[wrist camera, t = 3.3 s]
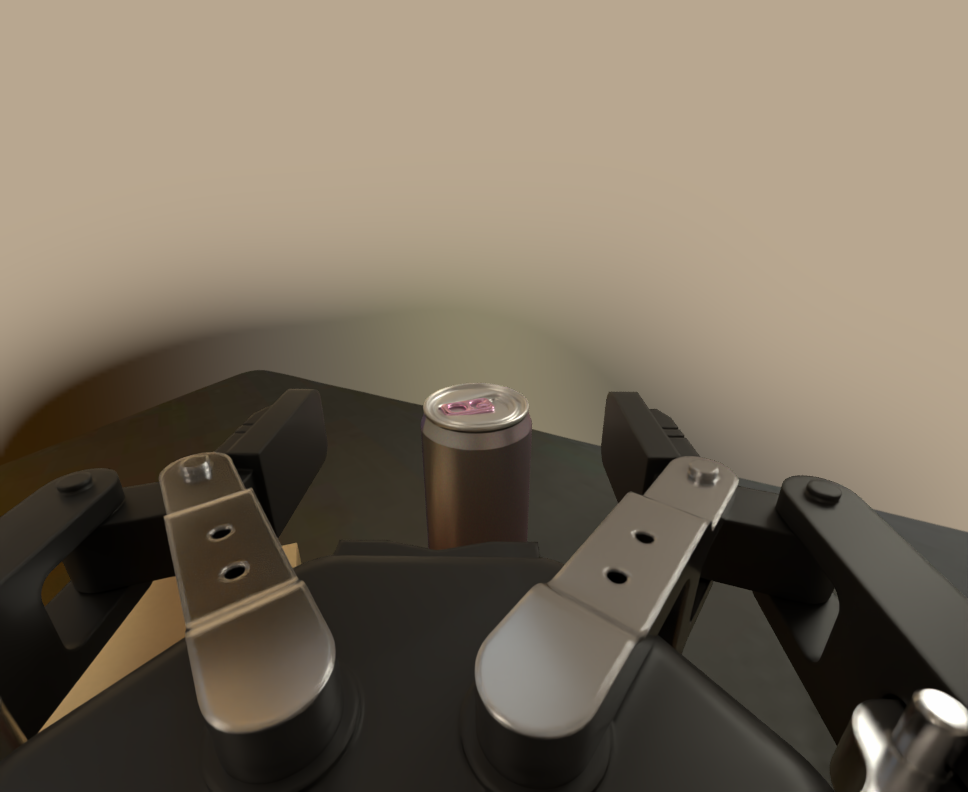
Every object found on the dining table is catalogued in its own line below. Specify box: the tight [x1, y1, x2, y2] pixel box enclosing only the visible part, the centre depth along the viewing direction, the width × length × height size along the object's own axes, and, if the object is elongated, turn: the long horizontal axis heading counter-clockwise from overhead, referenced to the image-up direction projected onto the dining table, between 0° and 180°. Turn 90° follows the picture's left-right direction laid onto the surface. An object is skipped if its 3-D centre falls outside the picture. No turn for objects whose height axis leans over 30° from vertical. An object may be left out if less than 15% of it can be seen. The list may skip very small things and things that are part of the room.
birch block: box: [38, 543, 301, 733], centre depth 25 cm, size 11×11×5 cm
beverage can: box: [421, 383, 532, 550], centre depth 29 cm, size 6×6×15 cm
